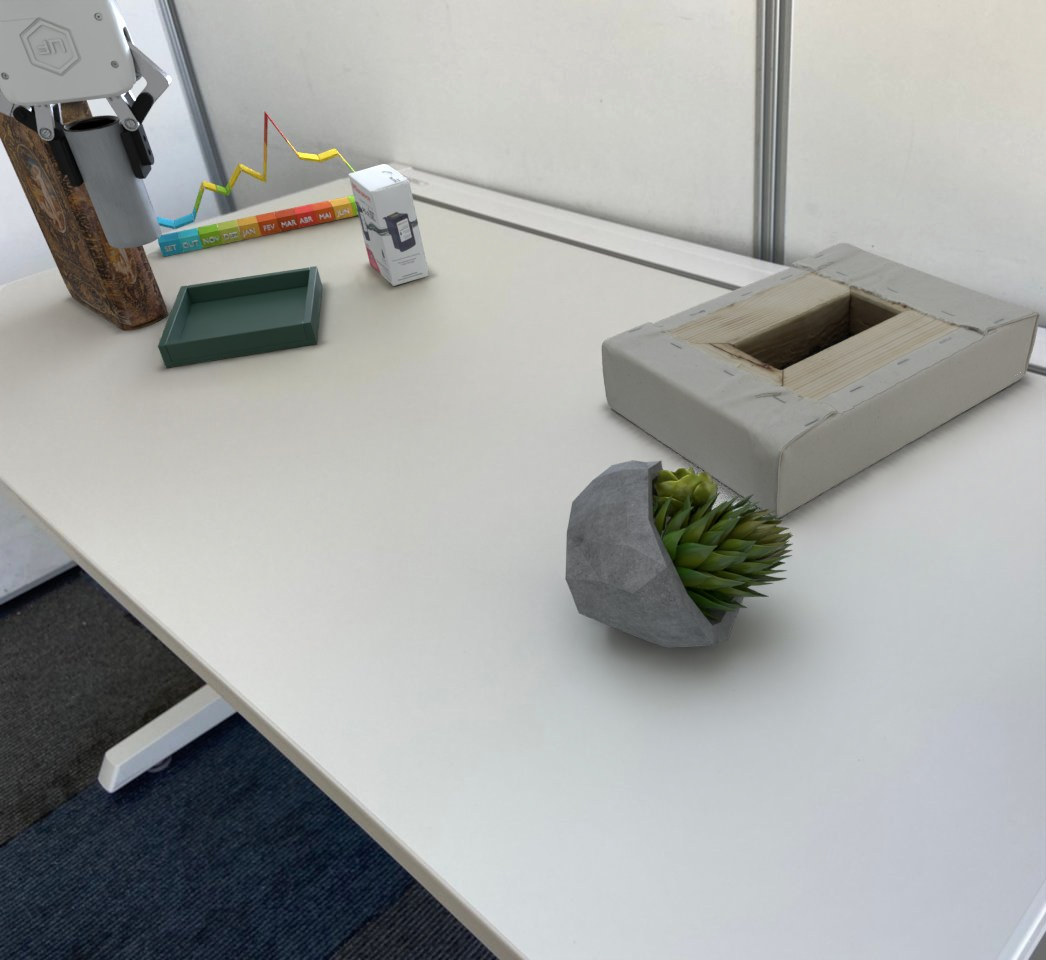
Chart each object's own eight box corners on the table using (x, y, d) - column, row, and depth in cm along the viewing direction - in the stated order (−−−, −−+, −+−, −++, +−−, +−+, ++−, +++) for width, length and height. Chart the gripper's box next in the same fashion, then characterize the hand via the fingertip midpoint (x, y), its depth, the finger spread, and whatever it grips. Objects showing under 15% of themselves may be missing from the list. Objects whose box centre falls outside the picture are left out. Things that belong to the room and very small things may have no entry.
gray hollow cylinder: (145, 226, 91) (103, 112, 85) (172, 235, 88) (130, 118, 82) (99, 243, 88) (52, 126, 82) (125, 252, 86) (79, 133, 80)
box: (781, 528, 75) (1031, 377, 90) (781, 444, 70) (1044, 299, 85) (602, 415, 90) (841, 302, 105) (593, 340, 86) (843, 234, 101)
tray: (166, 368, 103) (157, 346, 101) (188, 306, 115) (180, 286, 114) (316, 344, 105) (310, 322, 104) (322, 286, 118) (316, 265, 116)
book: (173, 315, 114) (88, 91, 99) (127, 333, 110) (32, 105, 96) (114, 281, 123) (28, 72, 108) (70, 297, 120) (-25, 84, 105)
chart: (163, 257, 129) (120, 142, 120) (162, 249, 131) (120, 135, 122) (390, 209, 138) (365, 98, 129) (385, 202, 140) (360, 93, 132)
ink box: (368, 265, 122) (345, 171, 115) (405, 254, 124) (385, 161, 117) (392, 287, 116) (369, 190, 109) (431, 276, 118) (411, 179, 111)
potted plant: (612, 492, 74) (806, 460, 69) (621, 663, 71) (826, 644, 65) (535, 454, 63) (759, 413, 58) (542, 654, 60) (779, 630, 54)
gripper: (-118, -42, 70) (-5, 205, 81) (128, -64, 72) (207, 179, 83) (-78, -55, 76) (23, 176, 87) (148, -75, 78) (219, 153, 89)
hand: (112, 175), depth 85 cm, fingers closed on gray hollow cylinder, 4 cm apart
